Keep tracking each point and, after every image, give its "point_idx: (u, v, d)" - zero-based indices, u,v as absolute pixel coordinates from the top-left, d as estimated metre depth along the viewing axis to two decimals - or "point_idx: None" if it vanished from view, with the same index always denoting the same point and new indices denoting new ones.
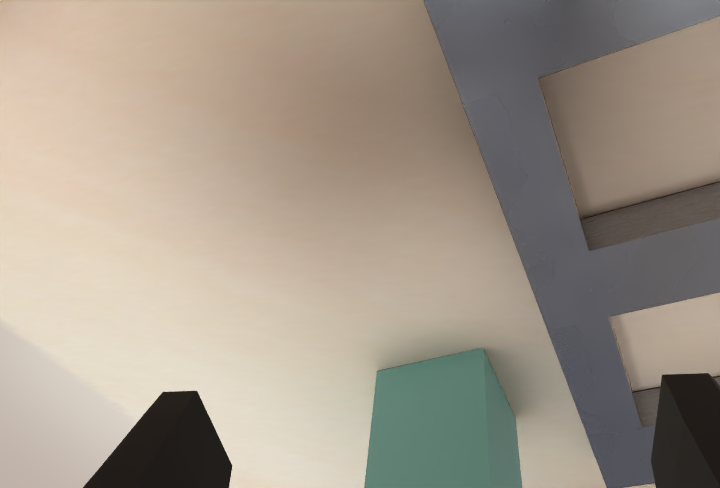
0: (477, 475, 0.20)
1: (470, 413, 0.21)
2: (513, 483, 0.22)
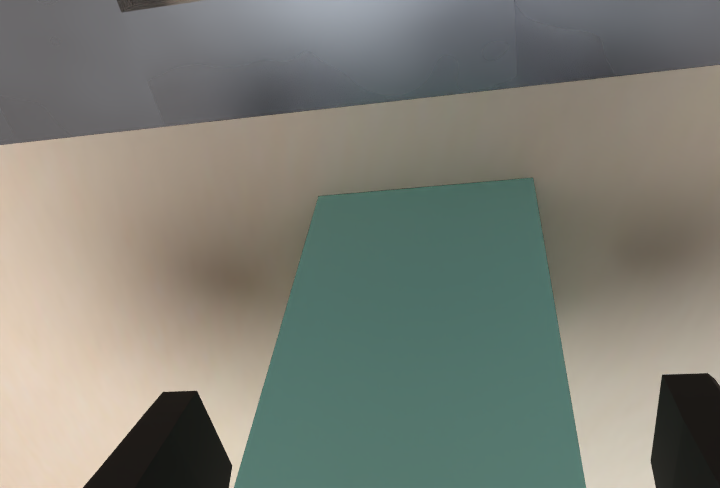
0: None
1: None
2: (467, 316, 0.10)
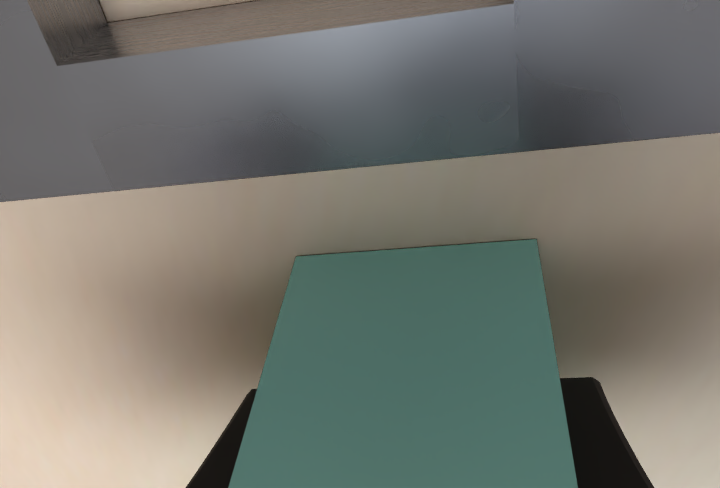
0: None
1: None
2: (462, 420, 0.08)
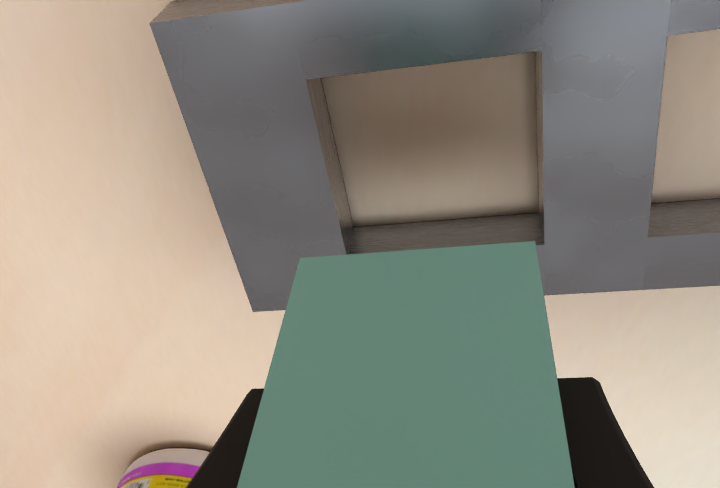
0: None
1: None
2: (463, 419, 0.09)
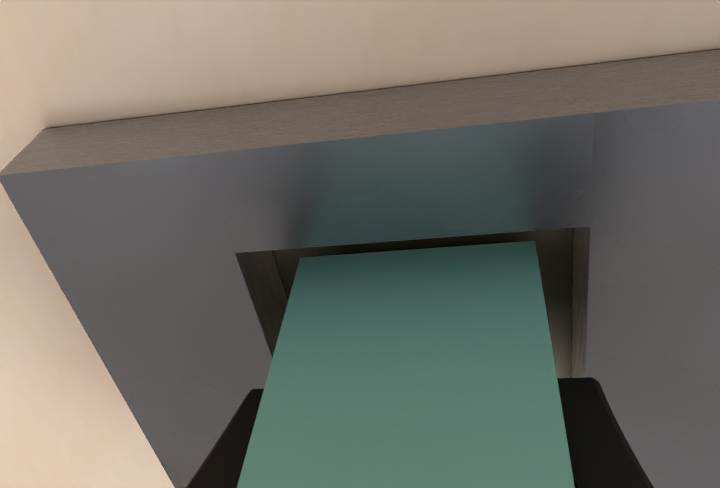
0: None
1: None
2: (463, 419, 0.09)
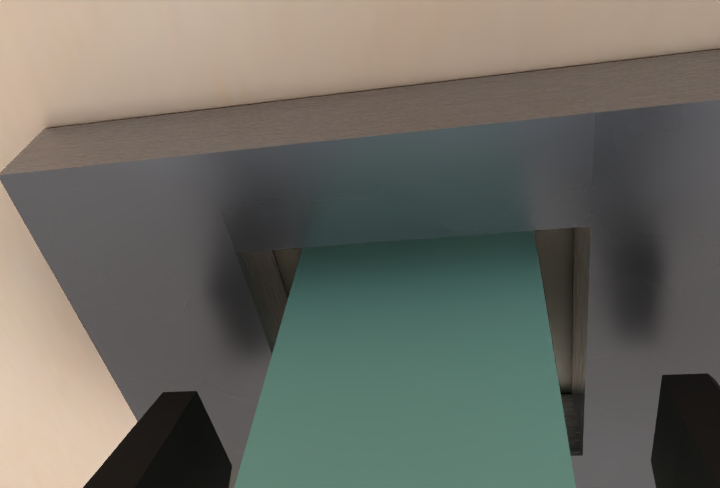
0: None
1: None
2: (462, 376, 0.09)
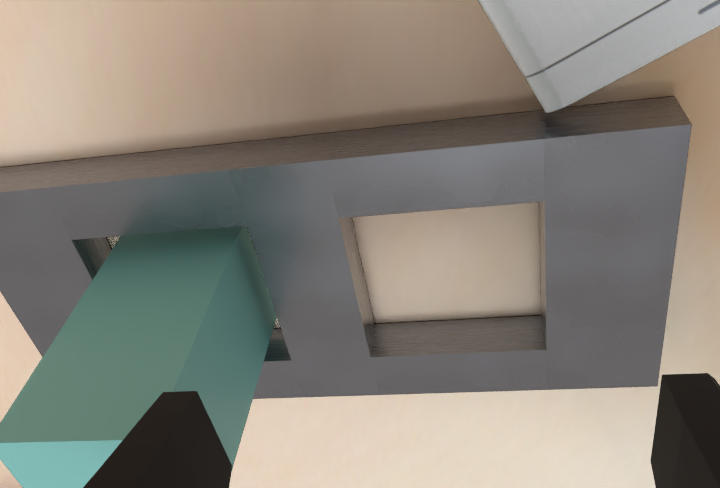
0: None
1: None
2: (169, 300, 0.18)
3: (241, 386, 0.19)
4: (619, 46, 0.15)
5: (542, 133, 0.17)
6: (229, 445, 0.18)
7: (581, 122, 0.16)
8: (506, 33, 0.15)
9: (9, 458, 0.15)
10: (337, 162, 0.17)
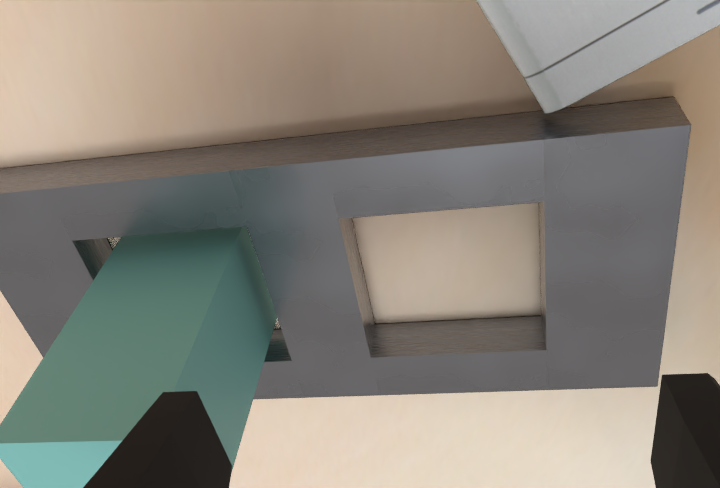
0: None
1: None
2: (169, 301, 0.18)
3: (241, 386, 0.19)
4: (618, 46, 0.15)
5: (541, 134, 0.17)
6: (229, 445, 0.18)
7: (580, 122, 0.17)
8: (505, 34, 0.15)
9: (10, 459, 0.15)
10: (337, 163, 0.17)
